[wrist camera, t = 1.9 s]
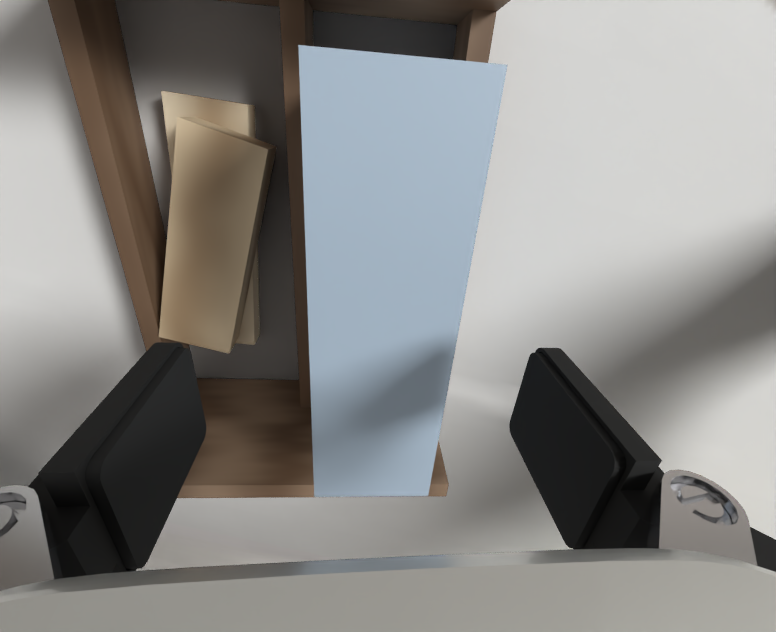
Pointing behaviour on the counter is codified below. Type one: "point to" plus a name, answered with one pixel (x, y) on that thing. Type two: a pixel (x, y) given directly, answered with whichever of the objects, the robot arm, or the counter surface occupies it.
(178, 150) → the offcut top
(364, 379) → the blue-grey rectangular block
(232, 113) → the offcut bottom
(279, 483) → the rack
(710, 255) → the counter surface
